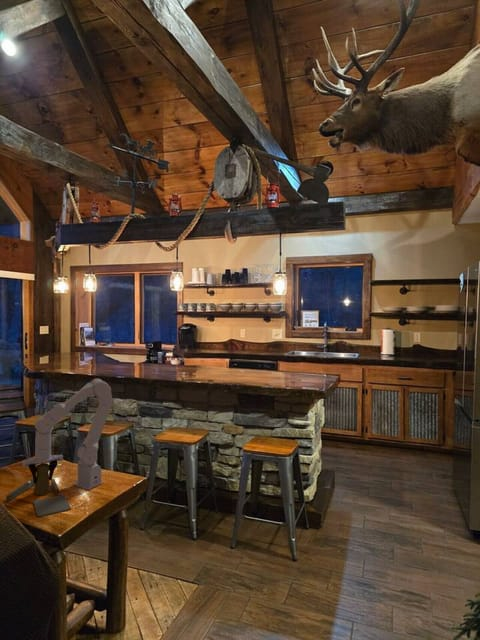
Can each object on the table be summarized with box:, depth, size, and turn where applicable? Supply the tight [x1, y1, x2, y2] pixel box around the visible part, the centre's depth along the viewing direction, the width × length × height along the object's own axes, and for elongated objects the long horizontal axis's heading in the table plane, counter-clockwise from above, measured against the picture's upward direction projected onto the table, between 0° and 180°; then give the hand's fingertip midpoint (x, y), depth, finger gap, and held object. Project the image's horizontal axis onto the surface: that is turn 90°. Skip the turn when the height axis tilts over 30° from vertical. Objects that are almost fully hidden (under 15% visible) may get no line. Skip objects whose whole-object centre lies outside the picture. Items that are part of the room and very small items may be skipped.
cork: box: [33, 463, 51, 496], centre depth 163 cm, size 6×6×11 cm
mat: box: [32, 494, 72, 518], centre depth 152 cm, size 13×11×1 cm
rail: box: [50, 478, 60, 497], centre depth 166 cm, size 12×1×2 cm, turn 33°
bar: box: [5, 478, 35, 502], centre depth 164 cm, size 19×2×2 cm, turn 173°
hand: (42, 481), depth 163 cm, fingers closed on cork, 5 cm apart
